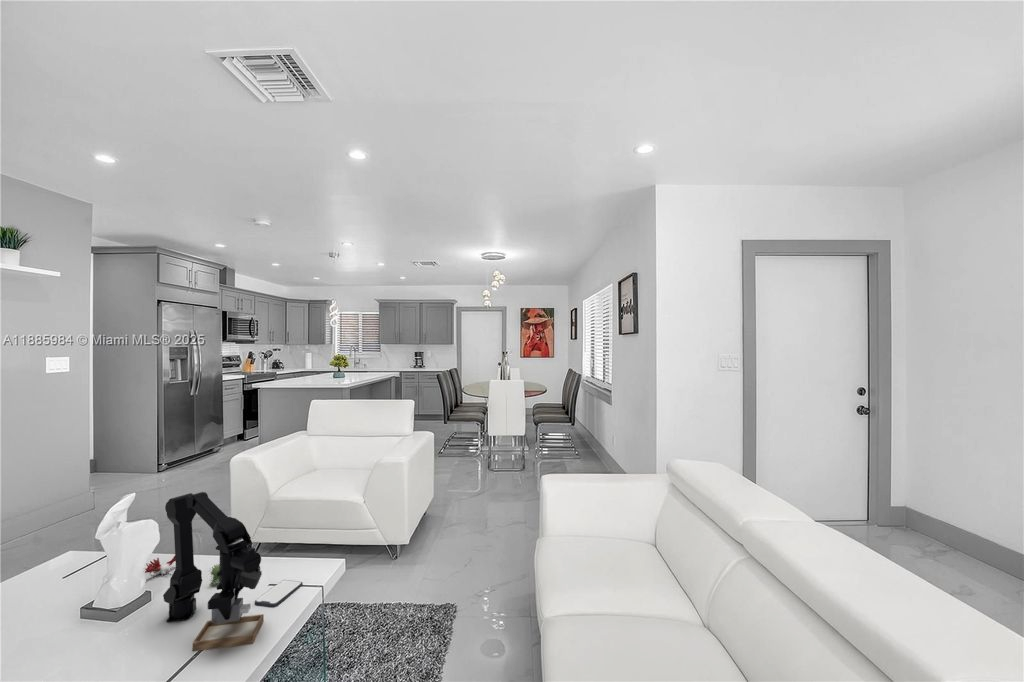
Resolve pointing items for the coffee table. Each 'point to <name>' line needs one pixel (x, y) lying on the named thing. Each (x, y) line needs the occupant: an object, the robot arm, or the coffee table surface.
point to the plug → (235, 614)
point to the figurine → (159, 567)
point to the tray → (228, 633)
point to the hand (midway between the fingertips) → (229, 615)
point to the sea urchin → (214, 575)
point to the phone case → (278, 593)
